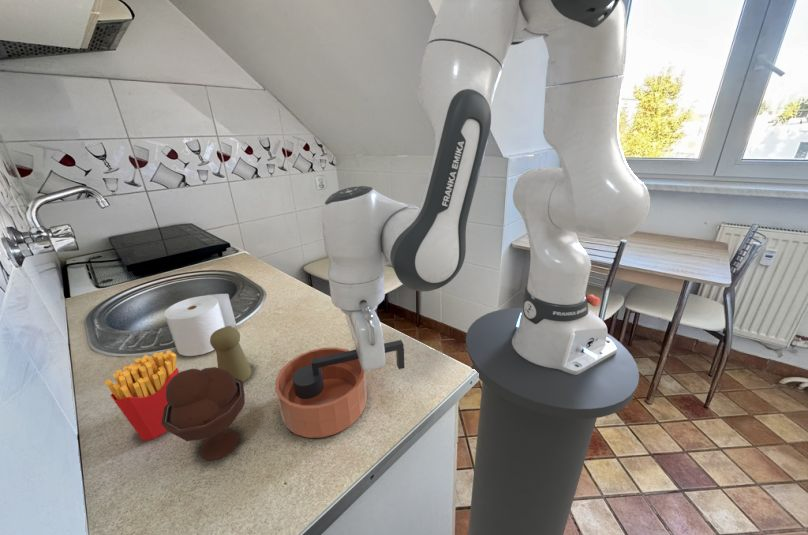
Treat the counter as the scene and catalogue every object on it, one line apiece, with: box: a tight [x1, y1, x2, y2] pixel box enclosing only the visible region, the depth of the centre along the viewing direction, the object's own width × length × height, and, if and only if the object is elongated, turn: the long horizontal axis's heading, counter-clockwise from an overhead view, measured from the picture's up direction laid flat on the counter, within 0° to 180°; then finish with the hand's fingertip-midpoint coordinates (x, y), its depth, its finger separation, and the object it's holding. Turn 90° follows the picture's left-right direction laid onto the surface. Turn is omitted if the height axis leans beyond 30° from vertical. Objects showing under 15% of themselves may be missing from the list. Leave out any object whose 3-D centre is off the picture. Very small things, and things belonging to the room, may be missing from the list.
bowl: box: [274, 346, 368, 439], centre depth 58 cm, size 15×15×7 cm
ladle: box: [292, 339, 405, 399], centre depth 58 cm, size 20×5×6 cm, turn 108°
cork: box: [210, 326, 253, 383], centre depth 65 cm, size 6×6×11 cm
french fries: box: [104, 349, 180, 442], centre depth 54 cm, size 9×4×13 cm, turn 144°
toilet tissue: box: [163, 293, 237, 357], centre depth 76 cm, size 11×12×10 cm
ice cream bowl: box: [161, 366, 246, 462], centre depth 49 cm, size 11×11×15 cm
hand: (363, 356), depth 58 cm, fingers closed on ladle
